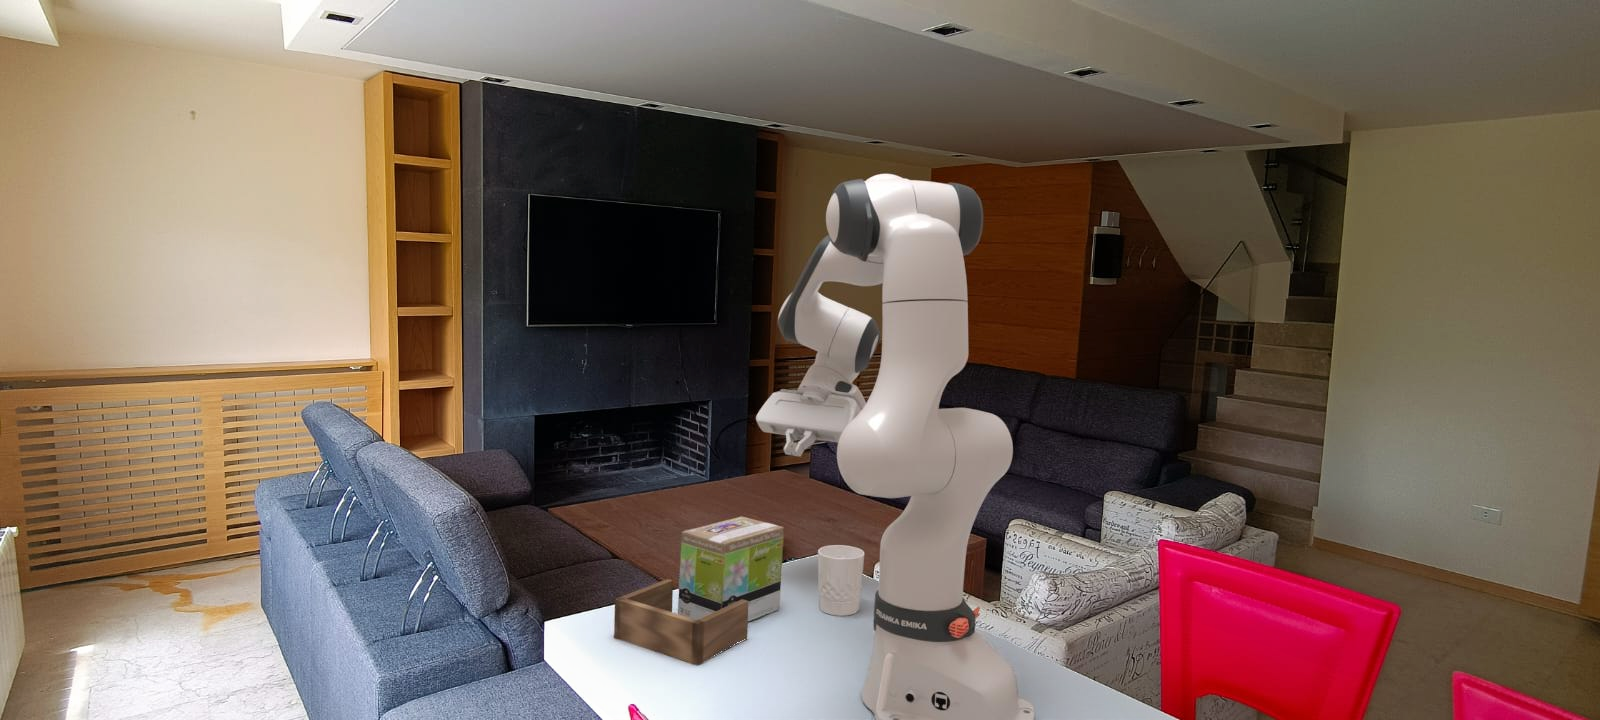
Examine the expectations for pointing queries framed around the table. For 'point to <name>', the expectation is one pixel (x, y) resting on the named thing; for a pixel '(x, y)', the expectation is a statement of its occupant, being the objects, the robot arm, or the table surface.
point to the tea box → (730, 567)
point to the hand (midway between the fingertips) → (791, 453)
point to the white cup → (840, 579)
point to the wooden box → (677, 625)
